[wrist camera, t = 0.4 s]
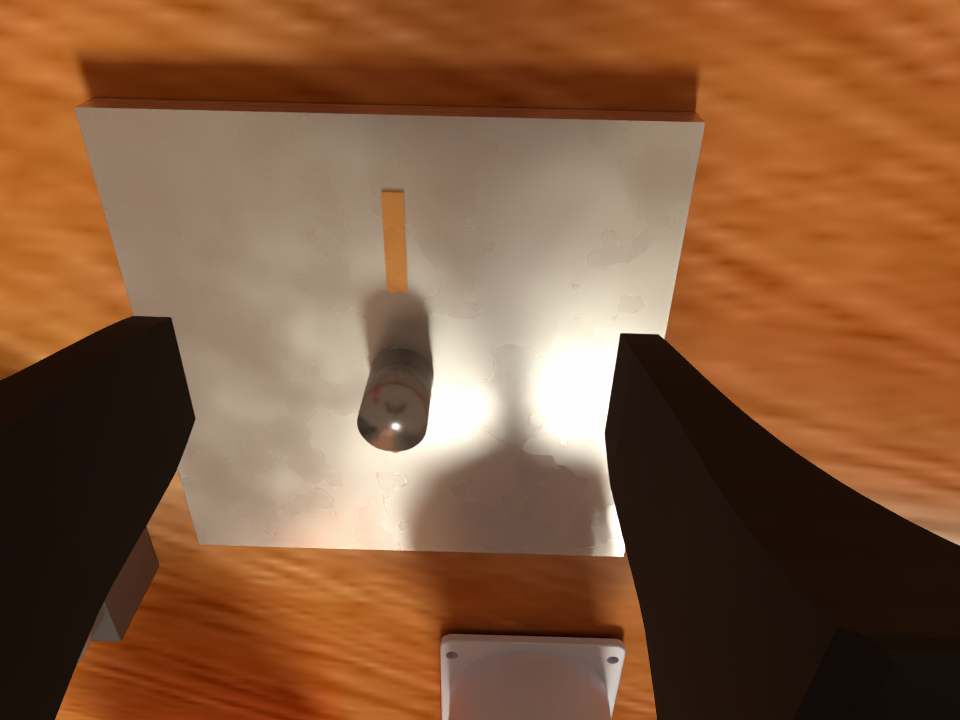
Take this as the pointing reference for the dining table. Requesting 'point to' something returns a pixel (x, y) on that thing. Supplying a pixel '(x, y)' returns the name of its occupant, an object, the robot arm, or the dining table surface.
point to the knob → (125, 594)
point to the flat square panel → (397, 308)
